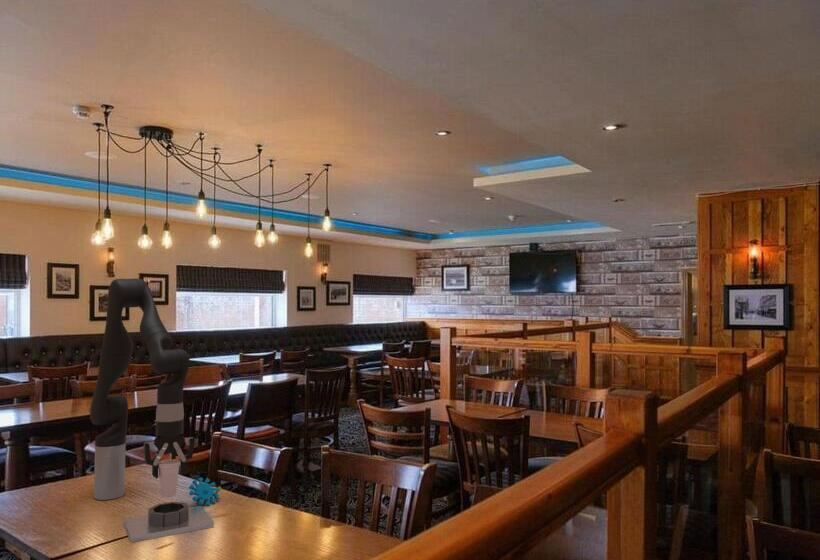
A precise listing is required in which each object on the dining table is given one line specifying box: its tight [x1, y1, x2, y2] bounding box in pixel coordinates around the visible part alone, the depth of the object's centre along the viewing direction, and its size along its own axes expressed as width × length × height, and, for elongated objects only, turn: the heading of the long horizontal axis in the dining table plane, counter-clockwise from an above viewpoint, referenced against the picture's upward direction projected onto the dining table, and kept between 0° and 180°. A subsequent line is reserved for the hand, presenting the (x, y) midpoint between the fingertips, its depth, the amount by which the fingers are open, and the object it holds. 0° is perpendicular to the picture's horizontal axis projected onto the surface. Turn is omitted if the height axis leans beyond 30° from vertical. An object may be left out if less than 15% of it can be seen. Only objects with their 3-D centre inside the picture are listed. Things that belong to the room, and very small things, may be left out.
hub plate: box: [122, 501, 215, 544], centre depth 176 cm, size 16×22×5 cm
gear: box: [188, 477, 222, 507], centre depth 197 cm, size 11×6×10 cm
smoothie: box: [158, 453, 181, 499], centre depth 176 cm, size 6×6×14 cm
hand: (168, 475), depth 176 cm, fingers closed on smoothie, 6 cm apart
